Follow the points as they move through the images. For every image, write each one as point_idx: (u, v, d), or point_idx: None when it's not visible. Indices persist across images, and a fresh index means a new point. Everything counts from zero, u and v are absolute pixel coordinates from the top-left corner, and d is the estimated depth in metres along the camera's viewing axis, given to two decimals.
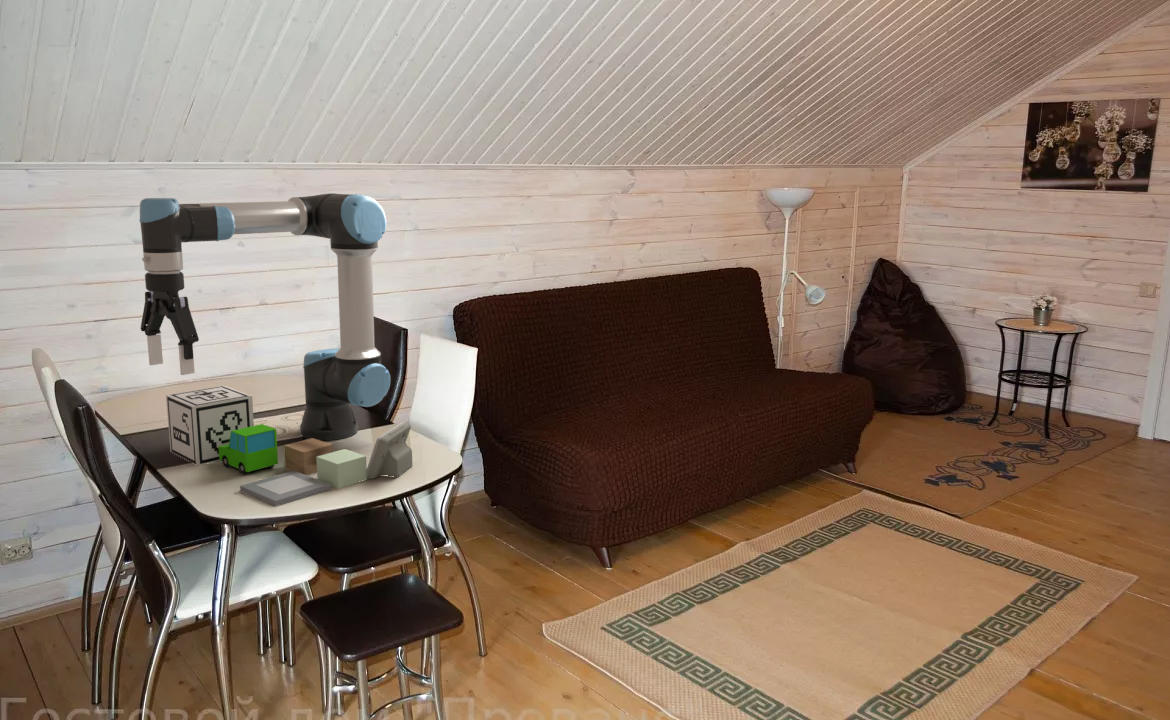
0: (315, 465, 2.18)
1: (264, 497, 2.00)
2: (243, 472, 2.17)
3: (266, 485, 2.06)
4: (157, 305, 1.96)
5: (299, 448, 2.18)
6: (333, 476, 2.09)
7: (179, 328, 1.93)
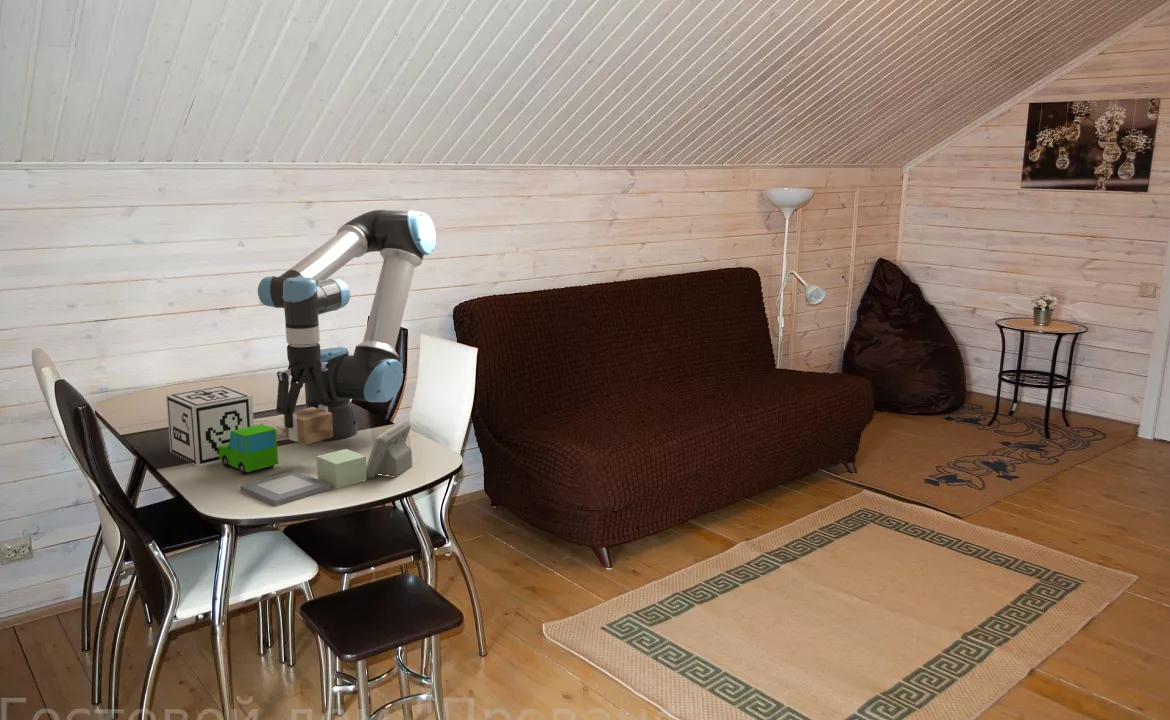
0: (315, 433, 2.17)
1: (264, 497, 2.00)
2: (243, 472, 2.16)
3: (266, 485, 2.06)
4: None
5: (298, 416, 2.17)
6: (332, 476, 2.09)
7: (288, 398, 2.15)
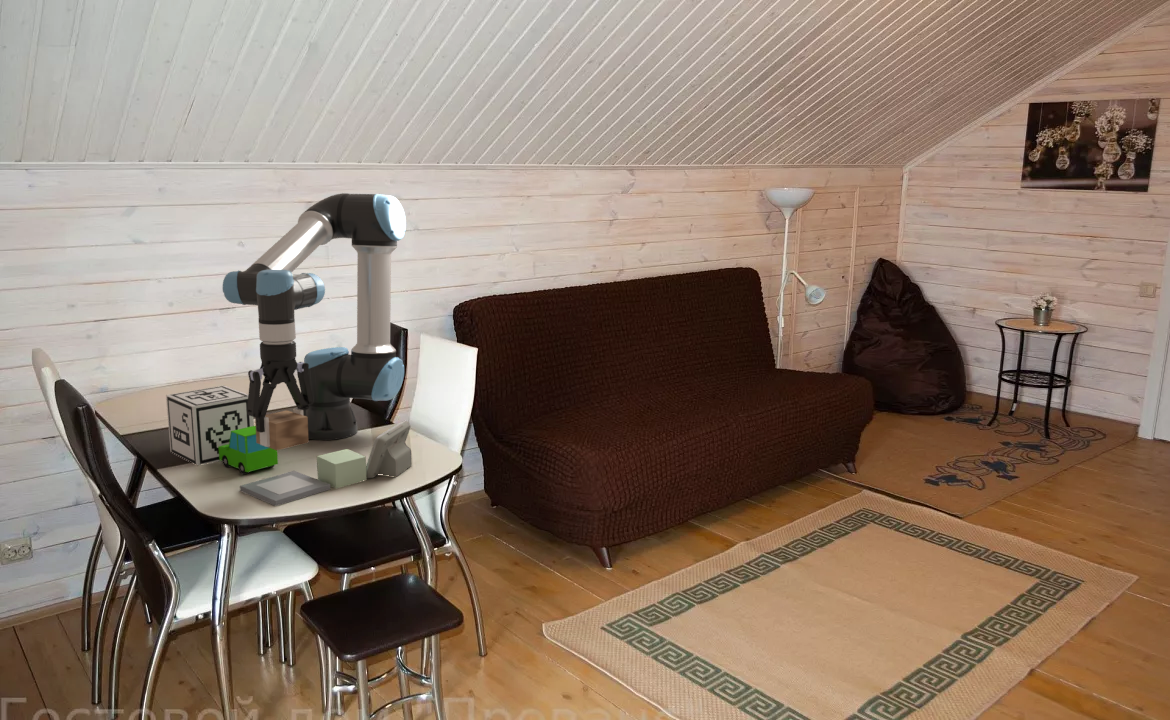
0: (288, 438, 2.01)
1: (264, 497, 2.00)
2: (243, 472, 2.16)
3: (266, 485, 2.06)
4: None
5: (271, 419, 2.01)
6: (331, 476, 2.09)
7: (260, 400, 1.99)
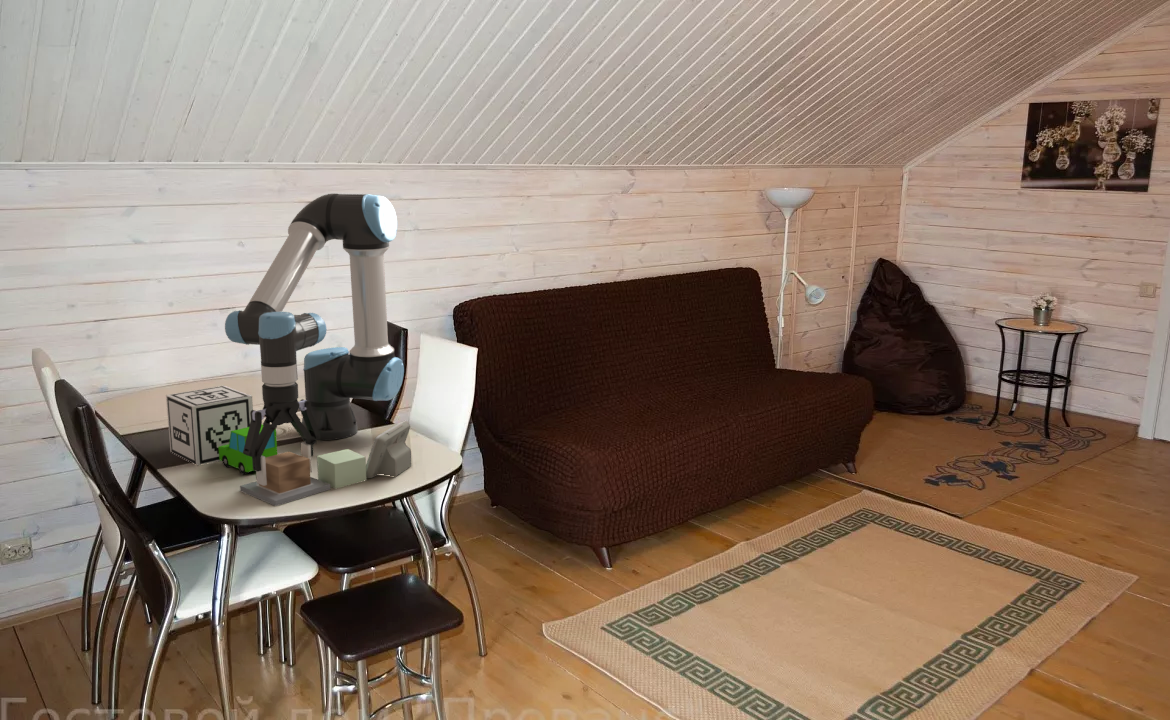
0: (291, 481, 2.03)
1: (264, 497, 2.00)
2: (243, 472, 2.16)
3: None
4: None
5: (273, 462, 2.03)
6: (331, 476, 2.09)
7: (258, 439, 2.00)
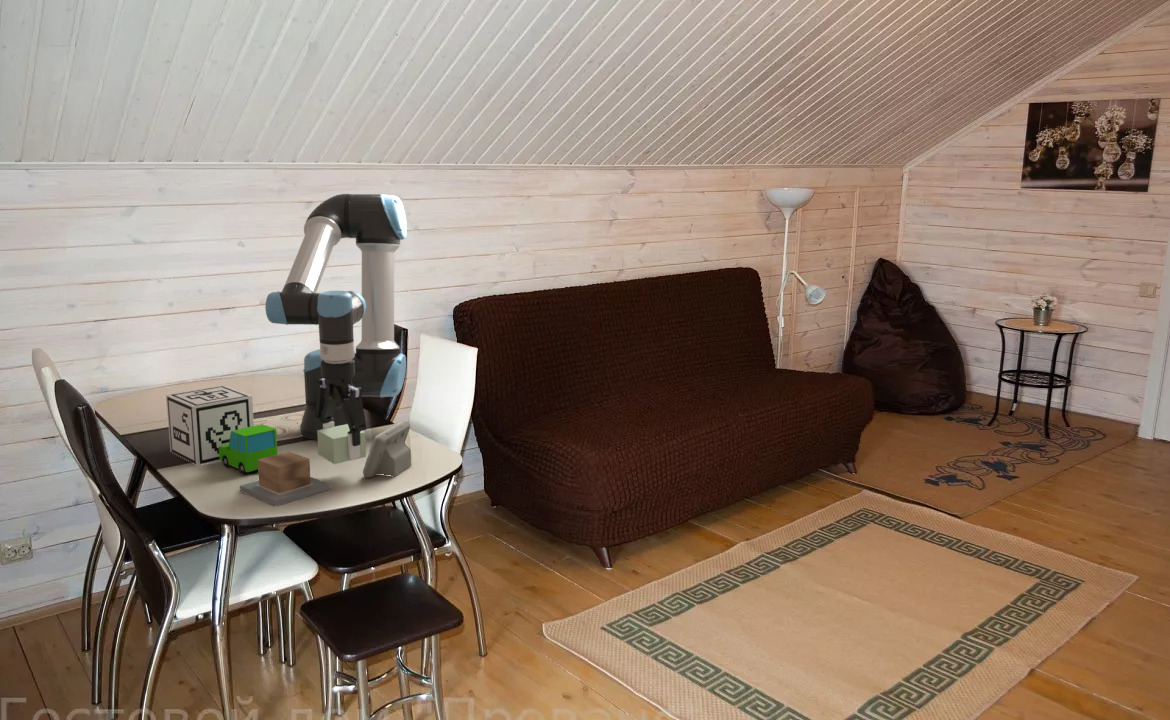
0: (291, 481, 2.03)
1: (264, 497, 2.00)
2: (243, 472, 2.16)
3: None
4: (331, 390, 2.09)
5: (273, 462, 2.03)
6: (330, 451, 2.09)
7: (350, 416, 2.08)
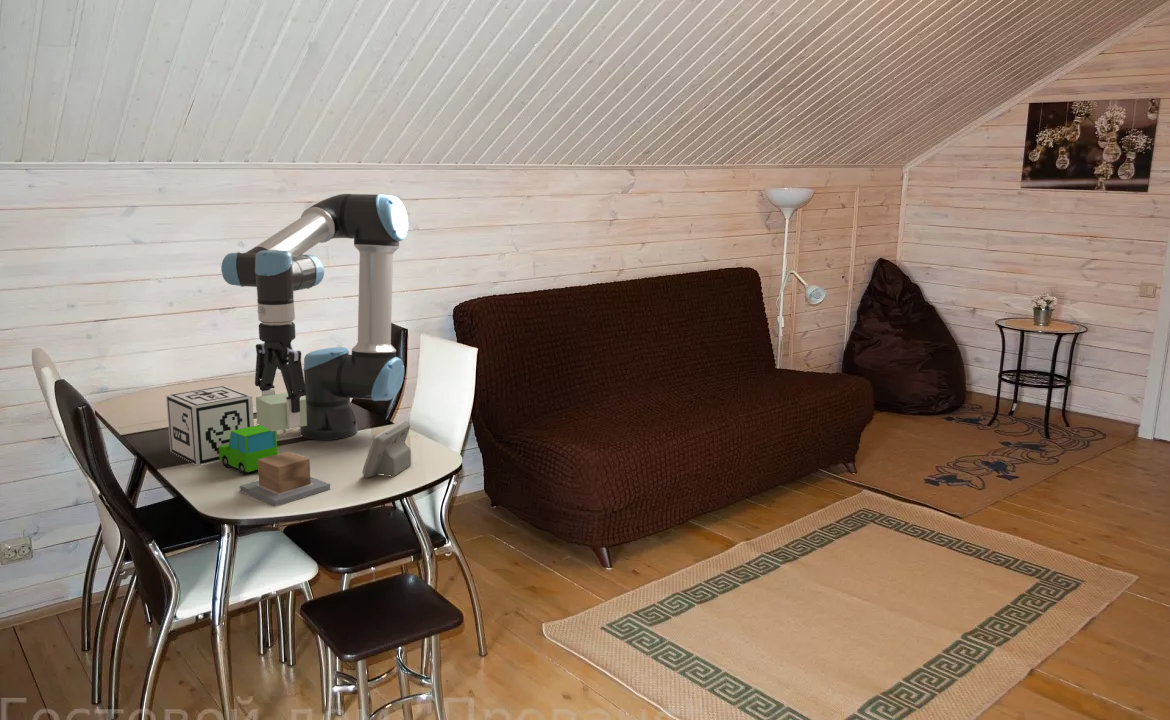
0: (291, 481, 2.03)
1: (264, 497, 2.00)
2: (243, 472, 2.16)
3: None
4: (270, 354, 2.00)
5: (273, 462, 2.03)
6: (268, 418, 1.99)
7: (289, 381, 1.98)
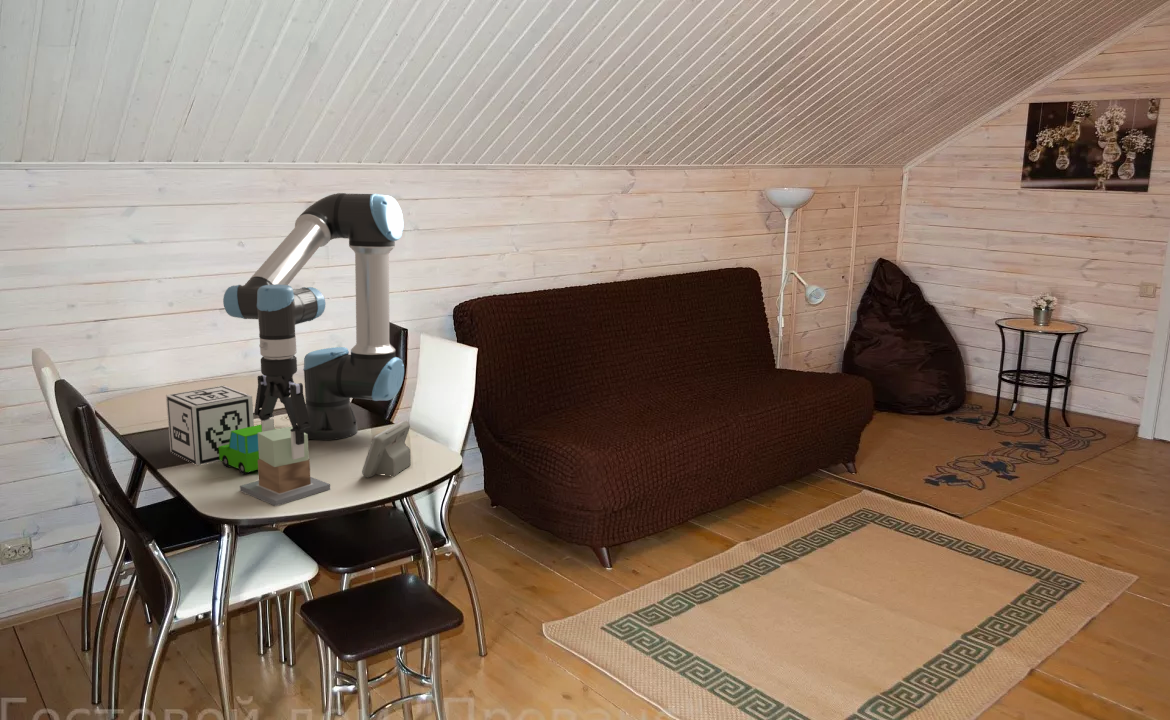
0: (291, 481, 2.03)
1: (264, 497, 2.00)
2: (243, 472, 2.16)
3: None
4: (271, 388, 2.02)
5: None
6: (270, 453, 2.01)
7: (293, 414, 1.99)
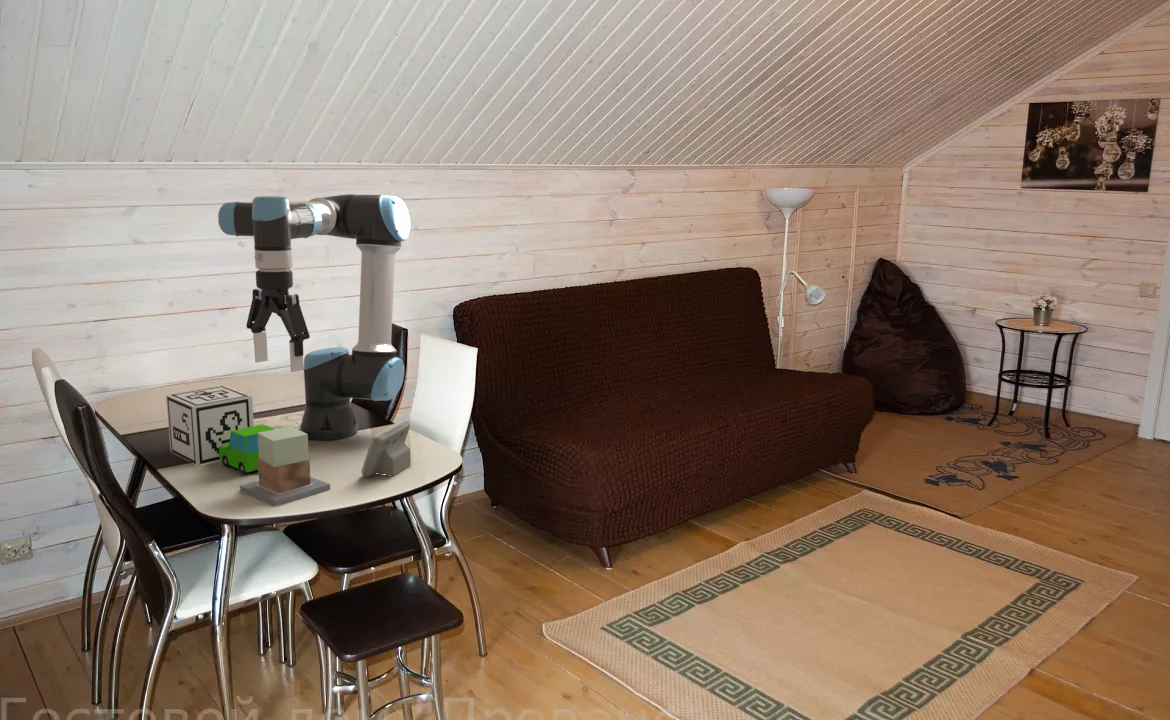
0: (291, 481, 2.03)
1: (264, 497, 2.00)
2: (243, 472, 2.16)
3: None
4: (266, 303, 1.98)
5: None
6: (270, 453, 2.01)
7: (290, 325, 1.95)
